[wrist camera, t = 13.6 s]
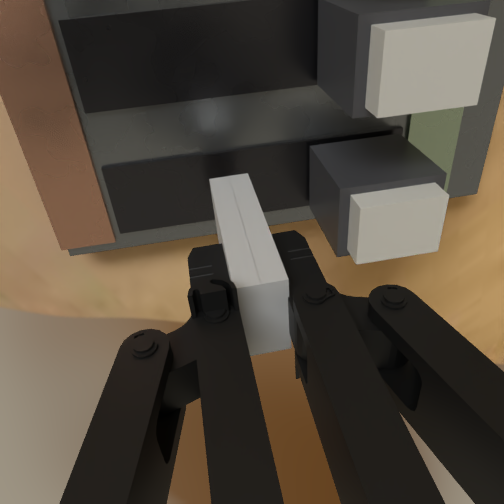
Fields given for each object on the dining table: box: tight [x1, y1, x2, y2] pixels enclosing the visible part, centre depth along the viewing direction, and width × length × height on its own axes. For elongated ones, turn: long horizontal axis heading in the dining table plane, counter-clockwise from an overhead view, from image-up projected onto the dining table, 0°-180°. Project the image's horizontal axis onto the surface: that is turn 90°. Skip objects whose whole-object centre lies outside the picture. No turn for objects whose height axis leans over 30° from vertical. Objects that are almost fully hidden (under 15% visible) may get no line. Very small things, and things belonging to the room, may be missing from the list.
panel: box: [0, 0, 504, 256], centre depth 18 cm, size 20×16×2 cm
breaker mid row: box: [317, 0, 496, 119], centre depth 15 cm, size 4×3×5 cm
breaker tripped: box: [309, 134, 449, 265], centre depth 18 cm, size 4×3×5 cm
